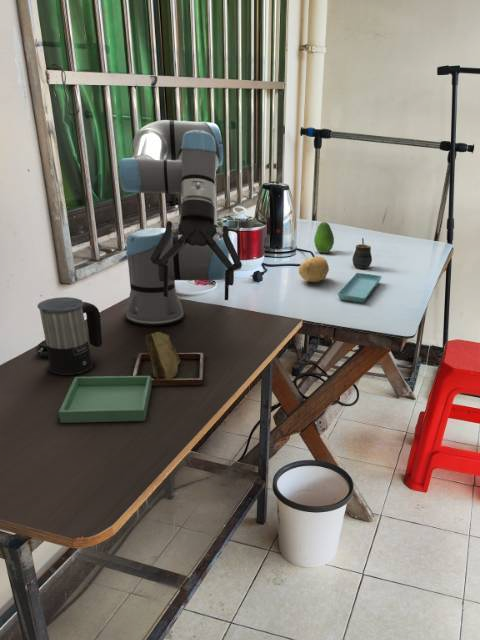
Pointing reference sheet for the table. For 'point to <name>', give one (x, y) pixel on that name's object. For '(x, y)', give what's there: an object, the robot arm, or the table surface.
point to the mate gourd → (362, 256)
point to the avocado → (324, 238)
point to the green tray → (106, 399)
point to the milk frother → (68, 334)
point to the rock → (162, 355)
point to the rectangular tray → (359, 287)
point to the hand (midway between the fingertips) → (196, 297)
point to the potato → (314, 269)
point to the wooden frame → (173, 381)
